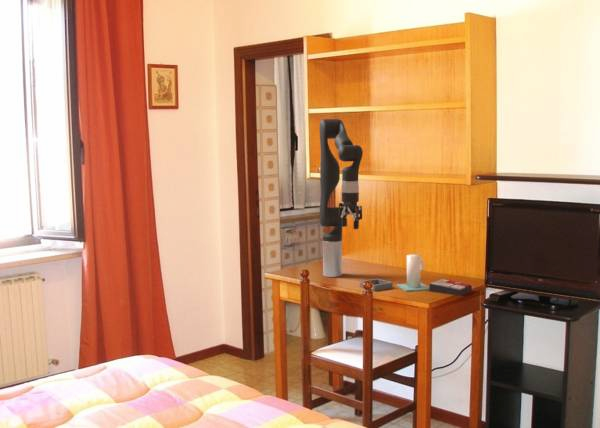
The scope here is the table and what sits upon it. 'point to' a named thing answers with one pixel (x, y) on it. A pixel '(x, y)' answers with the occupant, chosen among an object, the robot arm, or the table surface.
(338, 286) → the table surface
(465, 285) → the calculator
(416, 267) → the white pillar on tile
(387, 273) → the table surface
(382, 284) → the holder
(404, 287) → the coaster pad
